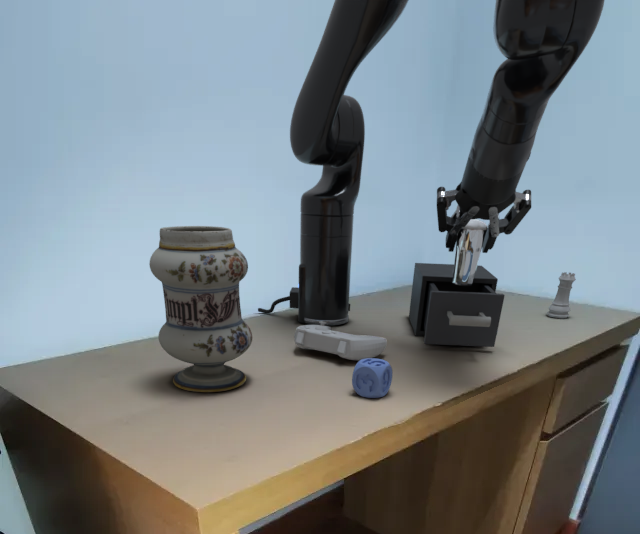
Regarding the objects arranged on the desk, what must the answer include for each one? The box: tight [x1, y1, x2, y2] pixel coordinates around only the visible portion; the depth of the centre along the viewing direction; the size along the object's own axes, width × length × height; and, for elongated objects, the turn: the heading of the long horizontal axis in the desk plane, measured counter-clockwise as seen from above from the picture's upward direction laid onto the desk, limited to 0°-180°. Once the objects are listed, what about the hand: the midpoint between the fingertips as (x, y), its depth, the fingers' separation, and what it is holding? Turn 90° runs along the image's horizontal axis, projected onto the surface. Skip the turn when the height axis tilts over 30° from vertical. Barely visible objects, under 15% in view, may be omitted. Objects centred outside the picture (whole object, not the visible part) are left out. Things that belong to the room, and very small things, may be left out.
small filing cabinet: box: [408, 262, 499, 337], centre depth 104 cm, size 15×13×10 cm
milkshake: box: [452, 219, 490, 286], centre depth 89 cm, size 4×5×10 cm
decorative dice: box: [351, 357, 393, 399], centre depth 74 cm, size 4×4×4 cm
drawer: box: [421, 281, 505, 348], centre depth 94 cm, size 19×11×8 cm, turn 177°
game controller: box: [293, 322, 388, 361], centre depth 89 cm, size 14×4×10 cm
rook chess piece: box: [546, 271, 576, 320], centre depth 115 cm, size 4×4×8 cm
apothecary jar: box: [148, 225, 253, 393], centre depth 72 cm, size 12×12×18 cm
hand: (467, 247), depth 91 cm, fingers closed on milkshake, 4 cm apart
